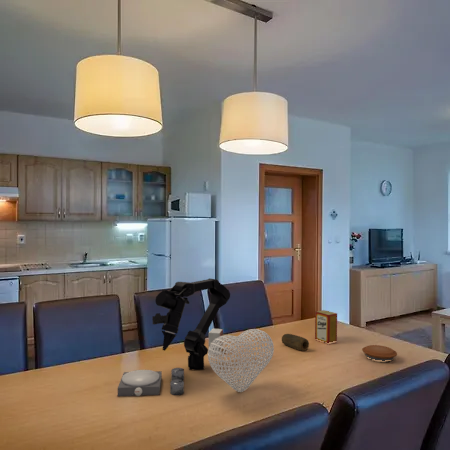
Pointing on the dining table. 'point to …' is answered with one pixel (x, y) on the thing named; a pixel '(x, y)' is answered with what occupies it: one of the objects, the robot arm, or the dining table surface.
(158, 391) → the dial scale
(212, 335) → the small box
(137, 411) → the dining table surface
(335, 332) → the baking soda box
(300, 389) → the dining table surface
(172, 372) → the cylinder
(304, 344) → the stone weight
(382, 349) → the pie
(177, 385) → the cylinder
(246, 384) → the heart
